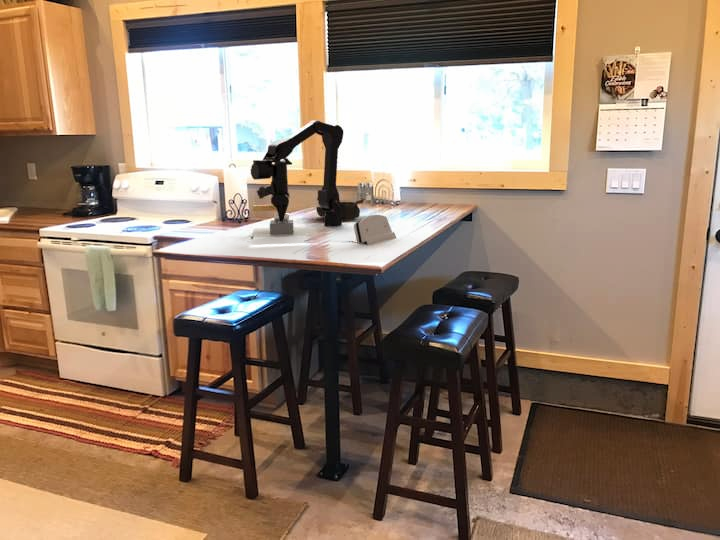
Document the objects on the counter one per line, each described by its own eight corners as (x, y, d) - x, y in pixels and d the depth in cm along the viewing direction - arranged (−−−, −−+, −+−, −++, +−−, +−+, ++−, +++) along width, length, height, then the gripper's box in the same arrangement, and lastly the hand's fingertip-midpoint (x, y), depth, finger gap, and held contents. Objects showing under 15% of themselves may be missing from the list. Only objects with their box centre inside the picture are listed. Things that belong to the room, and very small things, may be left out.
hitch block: (316, 229, 235) (315, 208, 233) (317, 236, 218) (316, 215, 216) (254, 231, 232) (253, 210, 230) (251, 239, 216) (249, 217, 214)
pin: (289, 228, 226) (288, 211, 224) (289, 231, 220) (288, 214, 219) (275, 229, 225) (274, 212, 224) (274, 231, 220) (273, 214, 218)
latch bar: (285, 209, 231) (285, 204, 231) (285, 210, 229) (284, 205, 228) (253, 210, 230) (252, 205, 230) (252, 211, 228) (252, 206, 227)
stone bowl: (367, 222, 249) (365, 199, 247) (307, 227, 250) (305, 205, 248) (367, 212, 273) (365, 192, 271) (313, 217, 274) (310, 197, 272)
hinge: (368, 245, 202) (359, 216, 201) (358, 248, 205) (349, 220, 205) (396, 237, 214) (389, 210, 214) (386, 240, 217) (379, 214, 217)
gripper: (259, 176, 227) (261, 217, 230) (255, 180, 208) (258, 224, 212) (288, 175, 228) (290, 216, 231) (287, 179, 210) (289, 223, 213)
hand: (281, 220), depth 222 cm, fingers closed on pin, 5 cm apart
